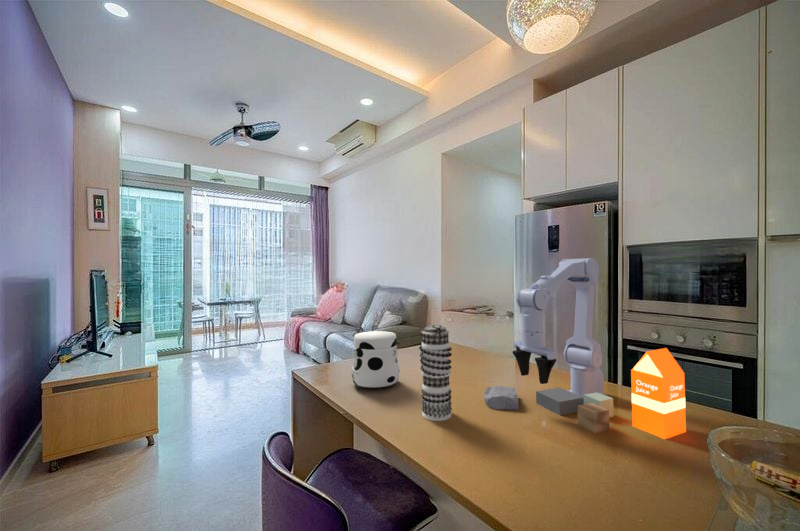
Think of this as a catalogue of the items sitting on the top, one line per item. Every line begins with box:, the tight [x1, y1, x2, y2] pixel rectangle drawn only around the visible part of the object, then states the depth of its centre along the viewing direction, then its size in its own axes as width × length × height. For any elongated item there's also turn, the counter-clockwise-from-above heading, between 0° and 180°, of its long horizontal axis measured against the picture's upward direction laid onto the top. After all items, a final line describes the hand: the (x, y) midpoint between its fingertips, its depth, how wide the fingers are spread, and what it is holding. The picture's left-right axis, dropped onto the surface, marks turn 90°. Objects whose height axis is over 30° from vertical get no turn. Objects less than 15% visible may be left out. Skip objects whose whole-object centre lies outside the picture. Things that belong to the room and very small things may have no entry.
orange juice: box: [630, 347, 687, 440], centre depth 85 cm, size 8×9×20 cm
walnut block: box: [577, 403, 610, 434], centre depth 87 cm, size 5×5×5 cm
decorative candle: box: [418, 324, 453, 422], centre depth 96 cm, size 9×9×25 cm
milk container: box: [351, 330, 401, 390], centre depth 122 cm, size 17×17×18 cm
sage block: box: [584, 392, 614, 418], centre depth 94 cm, size 5×5×5 cm
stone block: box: [483, 385, 519, 411], centre depth 104 cm, size 12×5×10 cm
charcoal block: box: [535, 387, 584, 416], centre depth 100 cm, size 9×9×4 cm
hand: (534, 379), depth 95 cm, fingers open, 7 cm apart
